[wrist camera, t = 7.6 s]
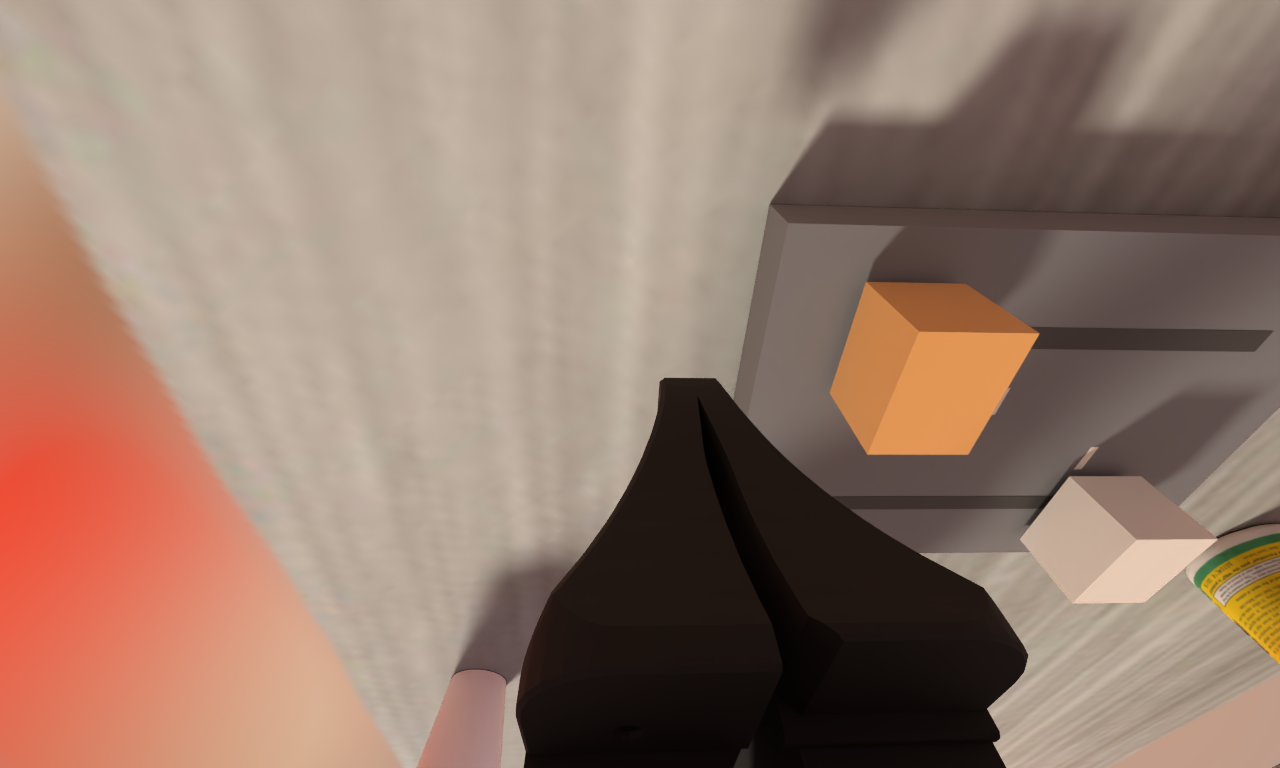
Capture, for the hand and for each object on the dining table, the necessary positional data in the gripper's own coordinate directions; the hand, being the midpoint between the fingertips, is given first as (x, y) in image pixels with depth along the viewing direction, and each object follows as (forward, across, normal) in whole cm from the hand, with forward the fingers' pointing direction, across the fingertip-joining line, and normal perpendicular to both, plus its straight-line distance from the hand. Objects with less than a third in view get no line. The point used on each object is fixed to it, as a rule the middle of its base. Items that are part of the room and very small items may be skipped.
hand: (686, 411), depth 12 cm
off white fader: (+4, -18, +8) cm, 20 cm away
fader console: (+6, -13, +4) cm, 15 cm away
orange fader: (+4, -7, 0) cm, 8 cm away
